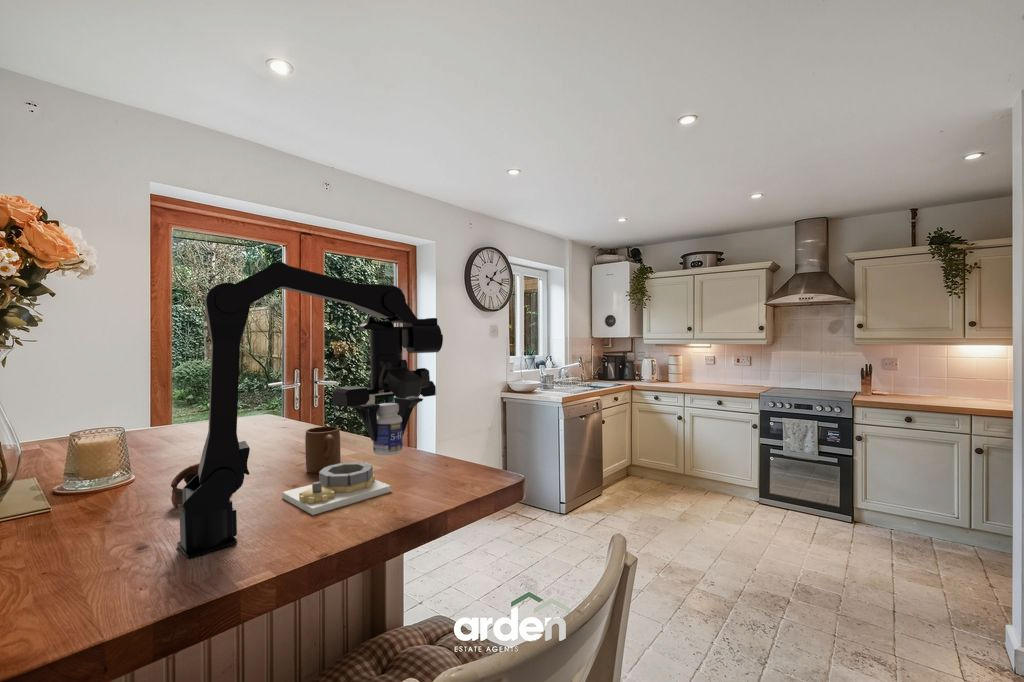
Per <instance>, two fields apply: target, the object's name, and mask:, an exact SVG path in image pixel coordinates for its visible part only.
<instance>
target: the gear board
mask: <svg viewBox="0 0 1024 682" xmlns="http://www.w3.org/2000/svg"><path fill="white" fill-rule="evenodd" d="M373 468H374V467H373V464H369V463H366V462H362V461H356V462H355V461H353V462H348V461H347V462H346V461H345V462H341V463H339V464H335V465H331V466H327V467H324V468H323V469H322V470H321V471H320V472H319V473H318V481H314V482H312V484H308V485H305V486H300V487H296V488H292V489H288V490H286V491H281V499H283V500H285V501H287V502H289V503H290V504H292V505H294V506H296V507H297V508H298V509H301V510H303V511H305V512H306V513H307V514H310V515H312V516H315V515H317V514H321V513H325V512H328V511H331V510H334V509H337V508H342V507H345V506H348V505H351V504H355V503H358V502H362V501H364V500H369V499H371V498H375V497H378V496H381V495H384V494H388V493H391V492H392V486H391V484H388V483H384V482H382V481H379V480H378V479H377V480H376V477H375V474H374V472H373V470H374V469H373Z"/></svg>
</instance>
